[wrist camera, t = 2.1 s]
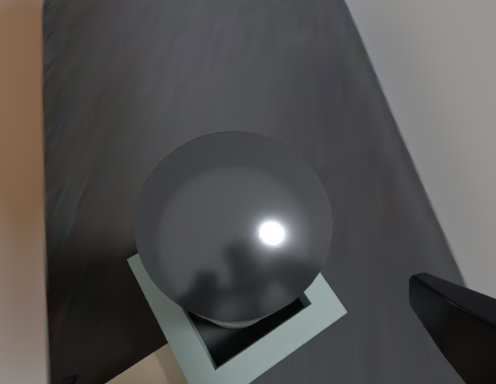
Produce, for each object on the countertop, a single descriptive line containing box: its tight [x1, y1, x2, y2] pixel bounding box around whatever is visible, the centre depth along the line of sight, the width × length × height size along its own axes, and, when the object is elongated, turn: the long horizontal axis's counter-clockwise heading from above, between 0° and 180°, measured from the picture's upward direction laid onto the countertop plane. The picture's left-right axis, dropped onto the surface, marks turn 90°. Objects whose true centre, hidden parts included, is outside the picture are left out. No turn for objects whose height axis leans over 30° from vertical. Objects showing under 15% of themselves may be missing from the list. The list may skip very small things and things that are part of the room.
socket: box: [127, 254, 347, 384], centre depth 18 cm, size 8×8×2 cm
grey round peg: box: [134, 131, 333, 329], centre depth 13 cm, size 4×4×13 cm
